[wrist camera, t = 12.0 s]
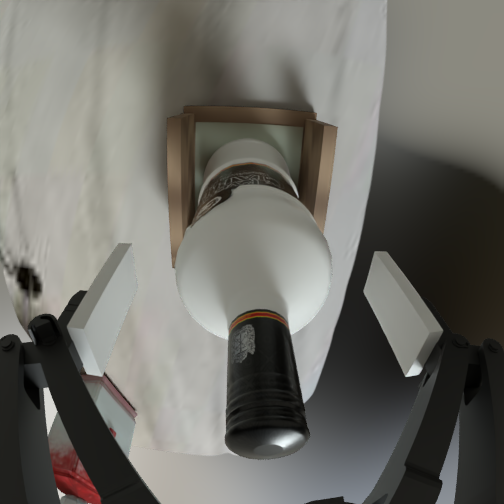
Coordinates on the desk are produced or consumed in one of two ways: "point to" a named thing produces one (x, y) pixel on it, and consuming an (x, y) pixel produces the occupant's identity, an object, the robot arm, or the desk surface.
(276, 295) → the vodka
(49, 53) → the desk surface
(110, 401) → the bottle
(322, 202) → the wooden box
